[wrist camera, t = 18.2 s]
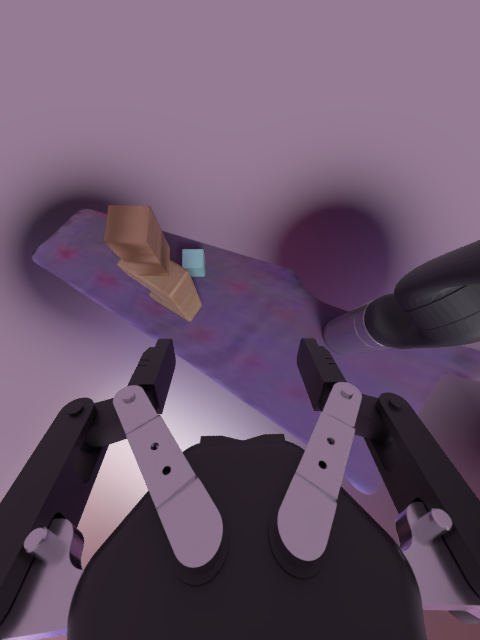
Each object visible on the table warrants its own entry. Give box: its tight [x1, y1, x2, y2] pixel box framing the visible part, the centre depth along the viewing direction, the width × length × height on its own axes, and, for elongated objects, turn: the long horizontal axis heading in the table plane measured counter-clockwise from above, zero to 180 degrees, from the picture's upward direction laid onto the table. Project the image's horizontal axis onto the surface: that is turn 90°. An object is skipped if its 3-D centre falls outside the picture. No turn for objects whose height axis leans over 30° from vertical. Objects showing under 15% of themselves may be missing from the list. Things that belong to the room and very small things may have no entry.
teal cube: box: [182, 249, 205, 277], centre depth 56 cm, size 5×5×5 cm
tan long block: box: [104, 205, 170, 276], centre depth 32 cm, size 5×5×10 cm
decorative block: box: [117, 259, 202, 322], centre depth 46 cm, size 11×6×20 cm, turn 57°
